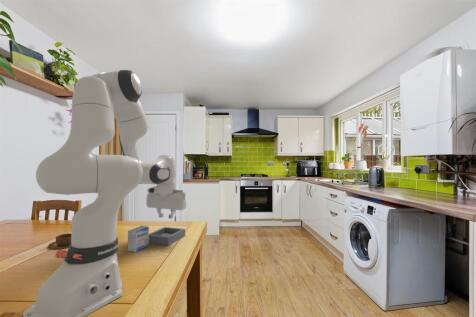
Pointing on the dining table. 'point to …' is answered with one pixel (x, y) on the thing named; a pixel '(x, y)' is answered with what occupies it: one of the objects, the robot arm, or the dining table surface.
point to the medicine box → (138, 238)
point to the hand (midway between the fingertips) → (165, 217)
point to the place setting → (61, 241)
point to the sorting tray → (166, 235)
